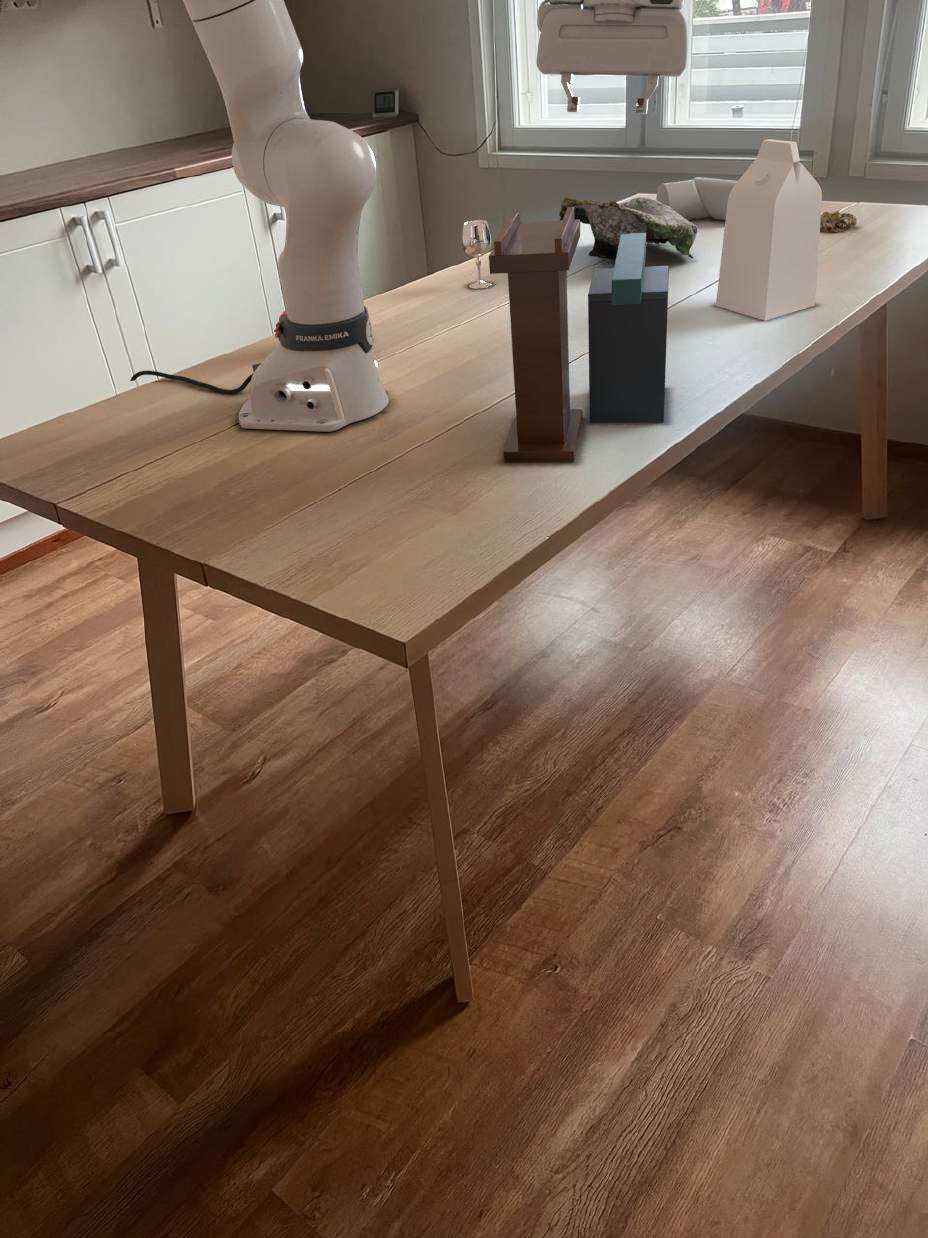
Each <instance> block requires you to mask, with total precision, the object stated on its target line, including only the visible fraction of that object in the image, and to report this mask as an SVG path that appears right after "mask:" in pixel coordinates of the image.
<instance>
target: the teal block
mask: <svg viewBox="0 0 928 1238" xmlns="http://www.w3.org/2000/svg"><path fill="white" fill-rule="evenodd" d="M646 255H647V242H646V233H632V234H621V236H620V241H619V246H618V251H617V256H616V260H615V261H614V266H613V268H614V271H613V276H612V305H623V304H641V296H642V286H643V276H644V267H646V266H645V264H646V257H647V256H646Z"/></svg>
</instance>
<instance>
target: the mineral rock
mask: <svg viewBox="0 0 928 1238" xmlns="http://www.w3.org/2000/svg"><path fill="white" fill-rule="evenodd" d="M857 219H858V218H857V216H855V215H854V214H853V213H849V212H843V213H840V211H839V210H835V211H832V212H828V211H825V212H823V213H821V221H820V232H821V231H822V232H826V233H842V232H844V231H847V230H850V229H853V228H854V227H856V225H857Z"/></svg>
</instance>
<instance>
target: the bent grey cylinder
mask: <svg viewBox="0 0 928 1238" xmlns="http://www.w3.org/2000/svg"><path fill="white" fill-rule="evenodd" d="M737 181H738V180H734V179H724V178H723V179H722V178H713V177H699V176H695V177H694V178H693V179H690V180H689V179H687V180H680V181H674V182H667V183H661V184H660V185H659V186H658V188H657V191H656V199H655V200H657V201H659V202H660V203H662V204H664V205H666V206H669V207H671V209H672V210H674V211H675V212H677V213H678V214H679V215H681V216H682V217H684V218H685V219H687V220H688V221H689V220H695V219H696V220H697V219H704V218H711V217H712V218H713V219H714V220H720V221H726V212H727V204H728V197H729V194H730V192H731V190H732V188H733V187H734V185H735V184H736V183H737Z"/></svg>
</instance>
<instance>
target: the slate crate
mask: <svg viewBox="0 0 928 1238" xmlns="http://www.w3.org/2000/svg"><path fill="white" fill-rule="evenodd" d="M613 271H614V267H604V268H594V270H593V274H592V277H591V278H592V279H591V282H590V286H589V289H588V293H587V313H588V314H587V321H588V322H587V327H588V330H587V331H588V382H589V383H588V396H589V399H588V401H589V406H588V407H589V424H617V423H618V424H619V423H620V424H621V423H624V424H625V423H628V424H629V423H631V424H632V423H633V424H634V423H635V424H636V423H664V422H665V399H666V398H665V397H666V371H667V369H666V367H667V342H668V341H667V338H668V310H669V309H668V308H669V276H670V274H669V273H670V266H669V265H656V266H652V265H651V266H645V267H644V276H643V286H642V296H641V304H623V305H612V276H613Z"/></svg>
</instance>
